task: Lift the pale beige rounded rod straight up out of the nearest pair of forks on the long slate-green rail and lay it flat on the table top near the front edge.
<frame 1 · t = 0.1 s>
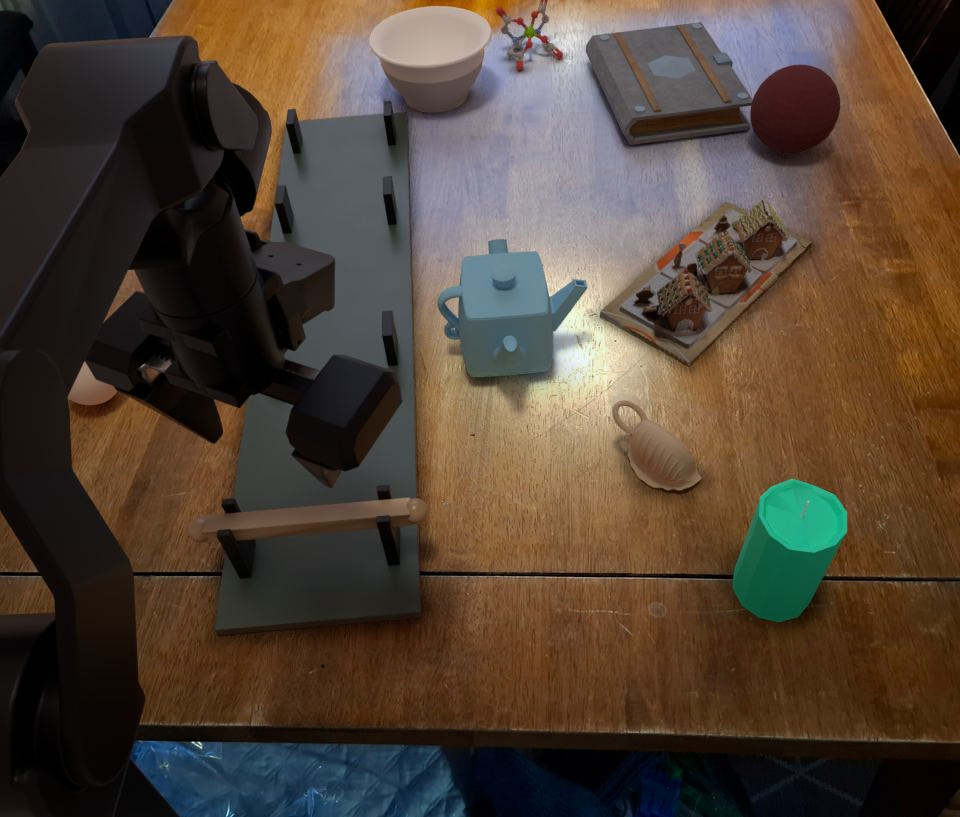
hand: (273, 459, 56), 17 cm above the table, tool pointing down, fingers open, 9 cm apart
book: (663, 98, 113), on the table
rack: (323, 559, 70), on the table
decorative ball: (784, 148, 104), on the table
candle: (770, 587, 67), on the table
bowl: (436, 96, 116), on the table
beige rounded rod: (310, 526, 66), point 5 cm above the table, touching rack
decorative ornament: (654, 464, 75), on the table
molecular model: (530, 57, 122), on the table
gingerbread house: (708, 281, 90), on the table
teapot: (513, 350, 85), on the table
egg: (102, 396, 84), on the table
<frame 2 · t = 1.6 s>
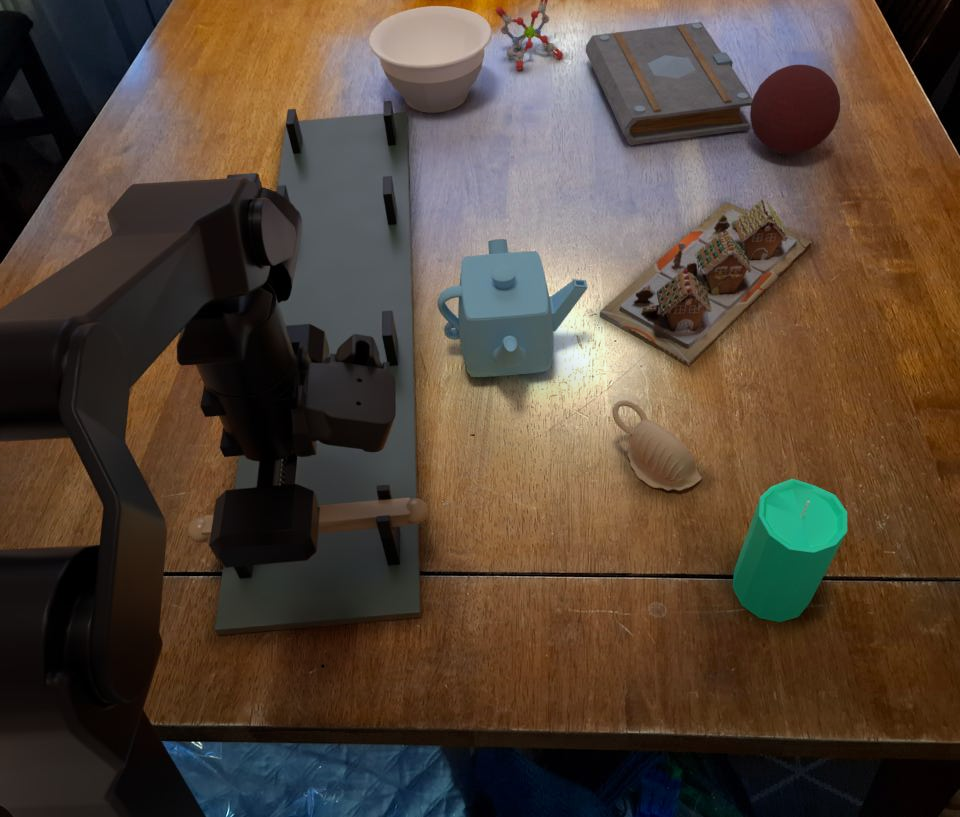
hand: (301, 503, 64), 8 cm above the table, tool pointing down, fingers open, 9 cm apart
nothing on the table moved.
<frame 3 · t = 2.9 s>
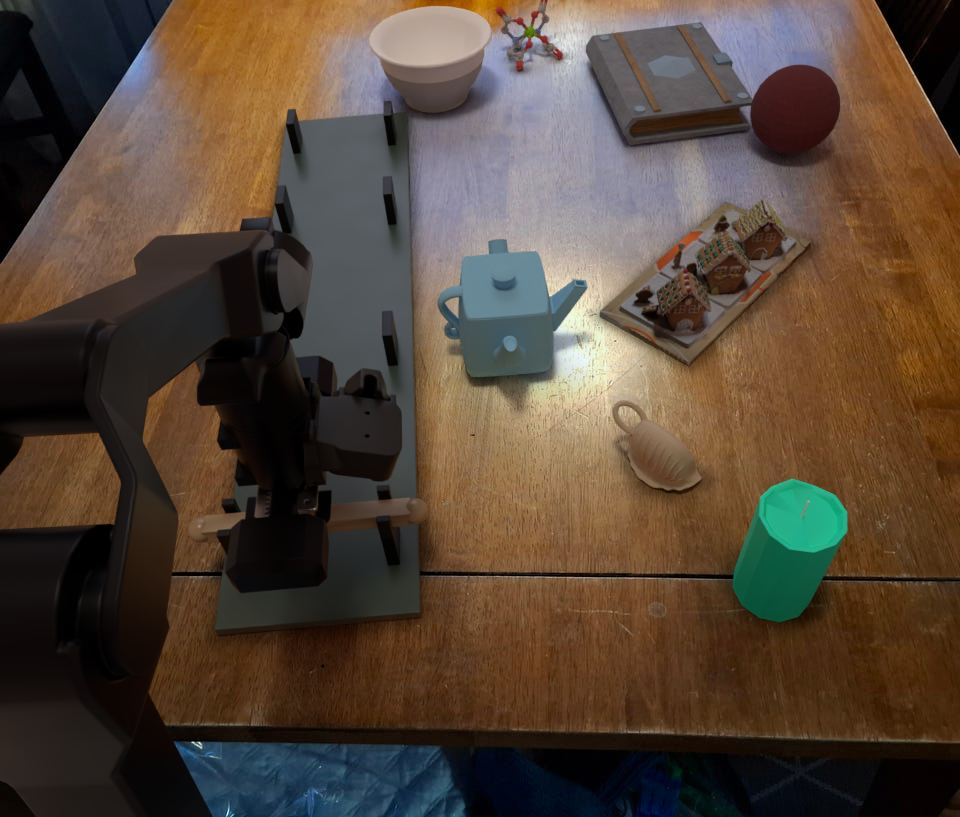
hand: (311, 527, 67), 5 cm above the table, tool pointing down, fingers closed on beige rounded rod, 2 cm apart
beige rounded rod: (310, 526, 66), point 5 cm above the table, touching gripper, rack
everything else where it was.
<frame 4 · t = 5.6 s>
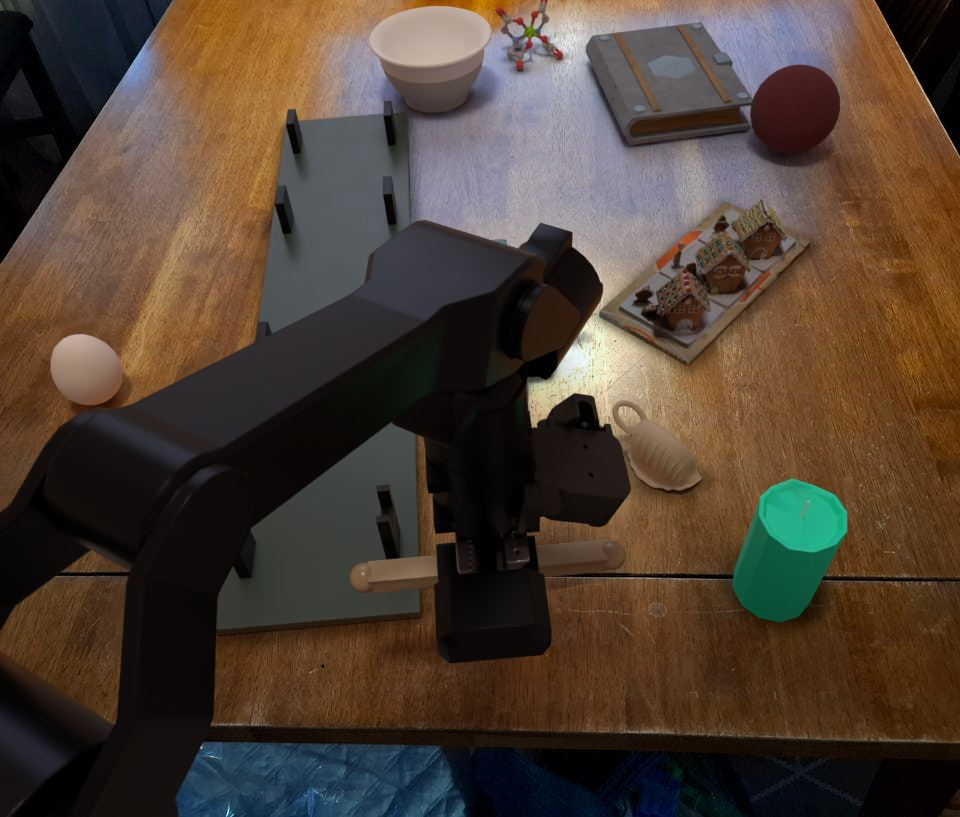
hand: (488, 573, 58), 10 cm above the table, tool pointing down, fingers closed on beige rounded rod
beige rounded rod: (488, 572, 58), point 10 cm above the table, touching gripper
everything else where it was.
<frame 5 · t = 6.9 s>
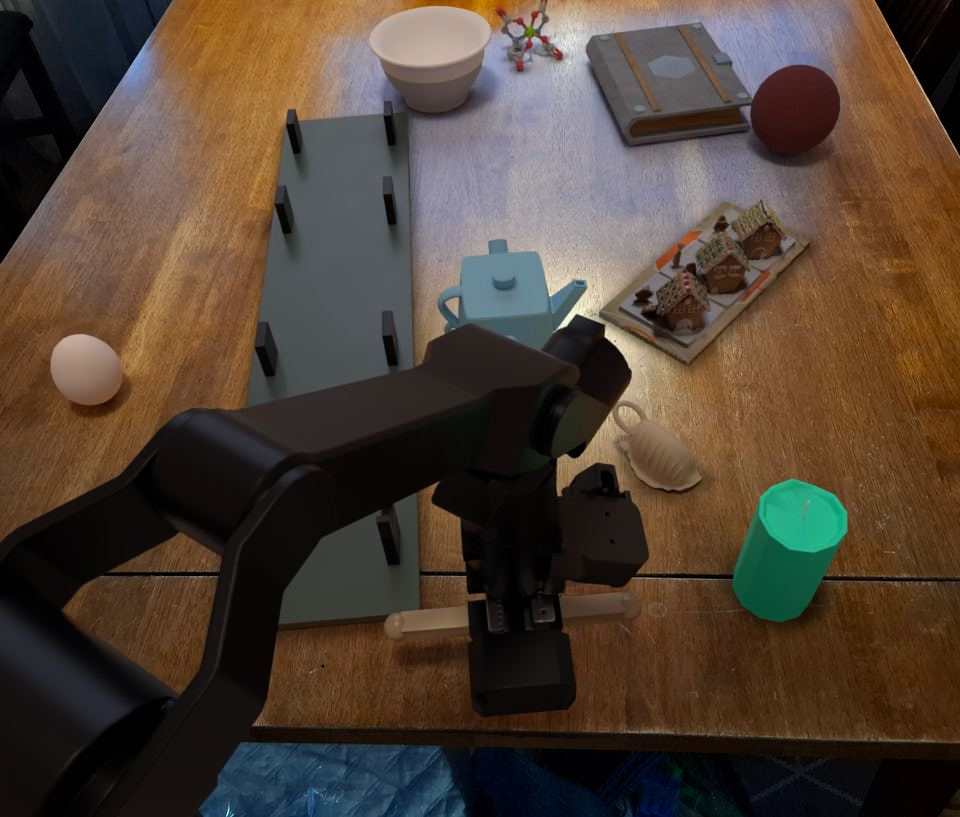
hand: (513, 623, 62), 4 cm above the table, tool pointing down, fingers closed on beige rounded rod, 2 cm apart
beige rounded rod: (513, 621, 62), point 4 cm above the table, touching gripper
everything else where it was.
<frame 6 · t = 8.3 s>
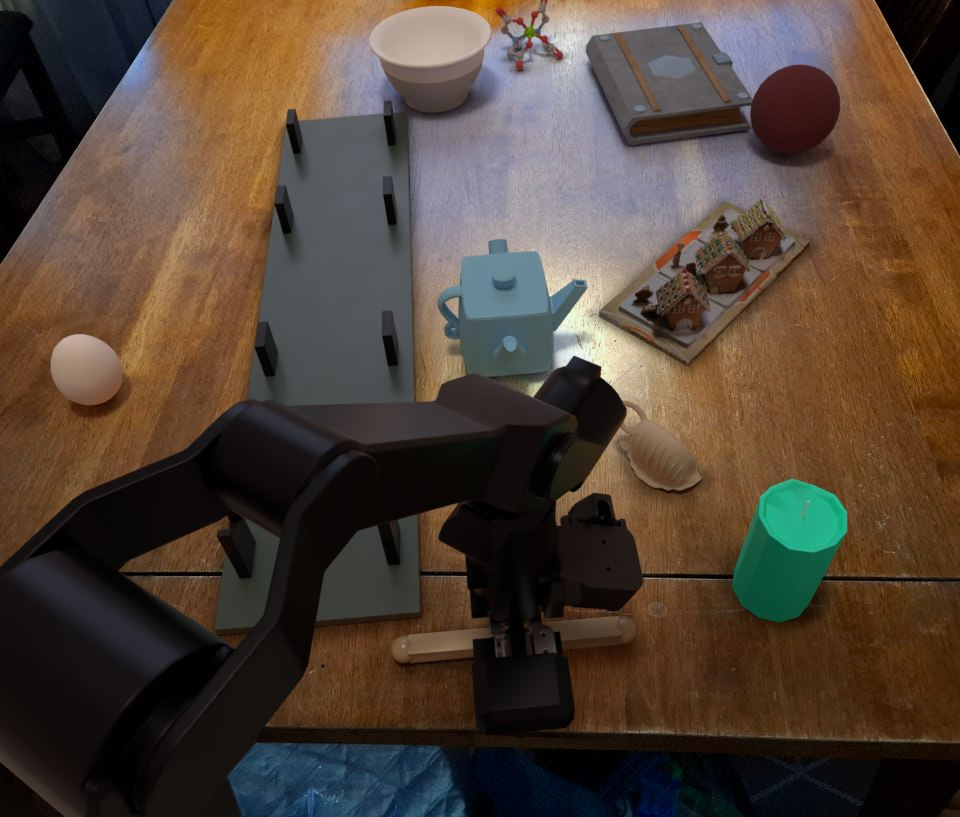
hand: (514, 640, 65), 0 cm above the table, tool pointing down, fingers open, 4 cm apart
beige rounded rod: (514, 644, 65), on the table
everything else where it was.
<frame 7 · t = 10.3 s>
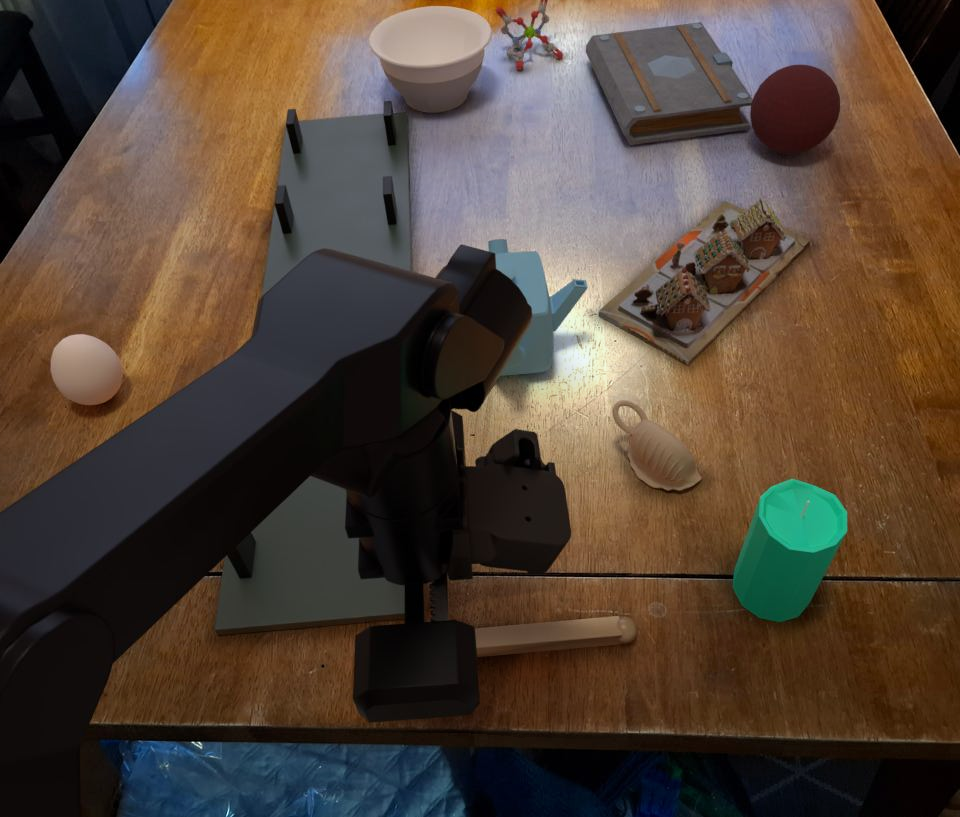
hand: (429, 616, 54), 11 cm above the table, tool pointing down, fingers open, 9 cm apart
nothing on the table moved.
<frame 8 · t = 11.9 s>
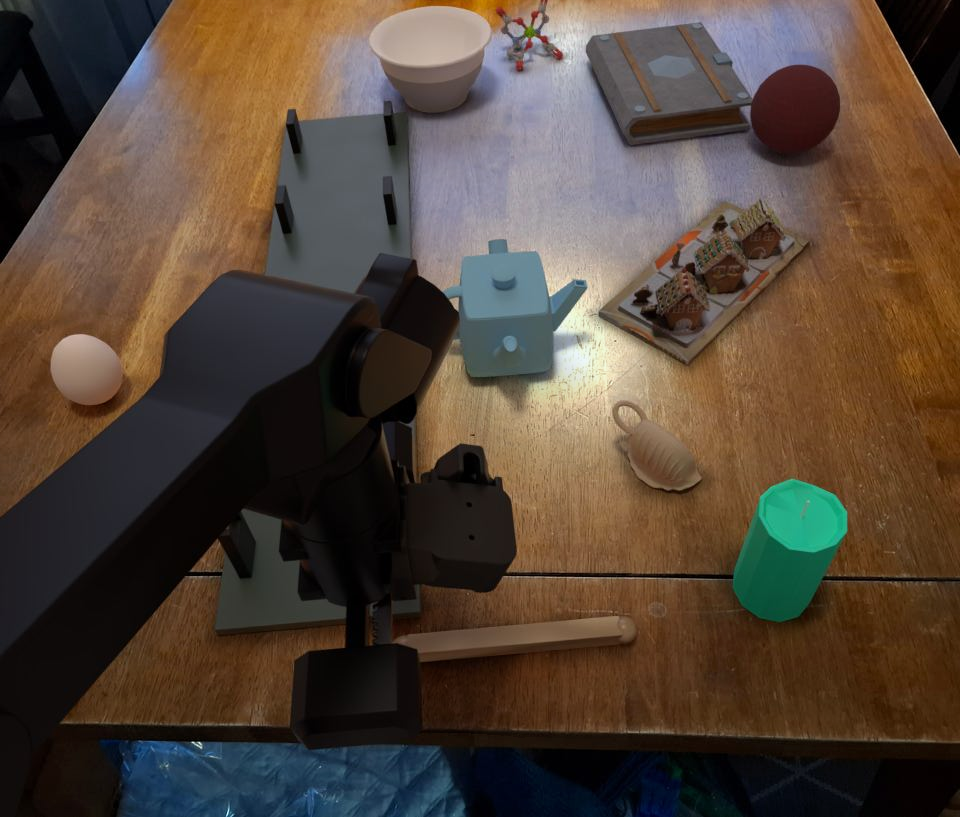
hand: (382, 633, 53), 12 cm above the table, tool pointing down, fingers open, 9 cm apart
nothing on the table moved.
at the end: beige rounded rod inside the target area (0.0 cm from its centre), on the table; beige rounded rod touching table; beige rounded rod tilted 1° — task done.
